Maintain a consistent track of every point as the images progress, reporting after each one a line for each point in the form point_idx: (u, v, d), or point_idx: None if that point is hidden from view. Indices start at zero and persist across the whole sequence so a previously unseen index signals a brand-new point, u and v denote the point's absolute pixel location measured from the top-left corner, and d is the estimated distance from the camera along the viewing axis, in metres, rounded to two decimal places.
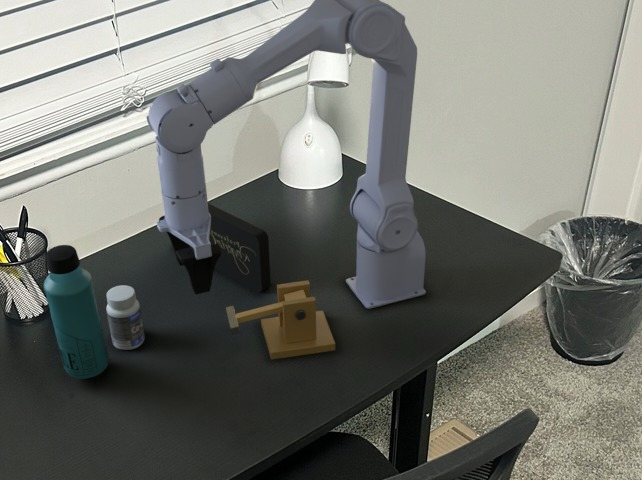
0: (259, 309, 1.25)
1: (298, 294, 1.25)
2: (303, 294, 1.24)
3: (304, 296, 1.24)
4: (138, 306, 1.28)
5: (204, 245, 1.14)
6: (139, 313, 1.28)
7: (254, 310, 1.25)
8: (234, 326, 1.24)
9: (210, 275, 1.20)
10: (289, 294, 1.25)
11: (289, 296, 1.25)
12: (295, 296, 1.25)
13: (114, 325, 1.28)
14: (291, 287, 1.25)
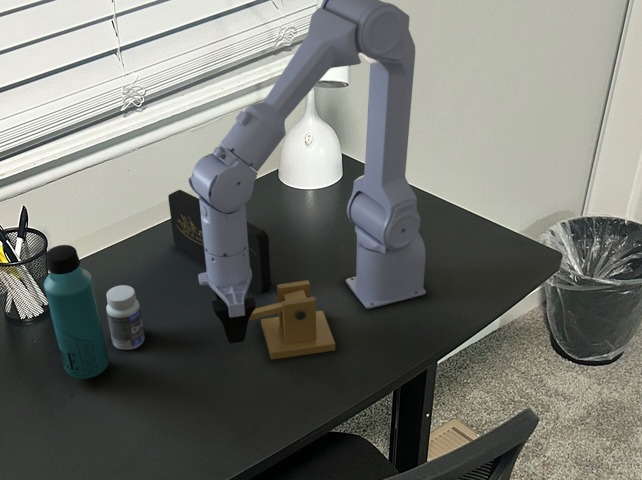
0: (259, 309, 1.25)
1: (298, 294, 1.25)
2: (303, 294, 1.24)
3: (304, 296, 1.24)
4: (138, 306, 1.28)
5: (237, 304, 1.16)
6: (139, 313, 1.28)
7: (254, 310, 1.25)
8: None
9: (244, 327, 1.22)
10: (289, 294, 1.25)
11: (289, 296, 1.25)
12: (295, 296, 1.25)
13: (114, 325, 1.28)
14: (291, 287, 1.25)
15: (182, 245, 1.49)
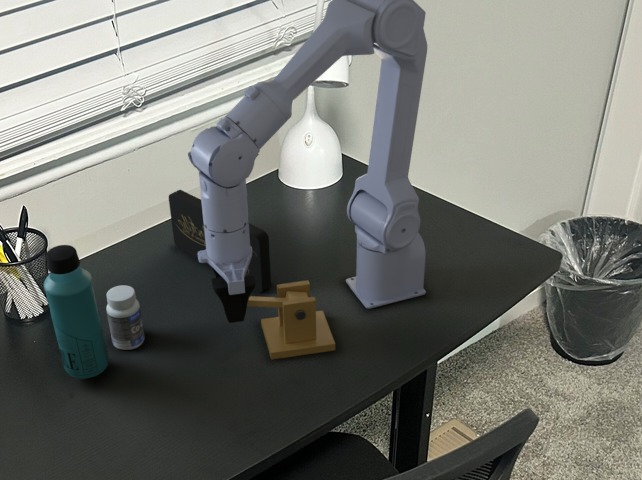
0: (260, 298, 1.24)
1: (301, 295, 1.25)
2: (306, 296, 1.25)
3: None
4: (138, 306, 1.28)
5: (237, 281, 1.13)
6: (139, 313, 1.28)
7: (255, 297, 1.24)
8: None
9: (244, 305, 1.20)
10: (292, 292, 1.25)
11: (292, 294, 1.25)
12: (298, 296, 1.25)
13: (114, 325, 1.28)
14: (291, 287, 1.25)
15: (183, 245, 1.49)
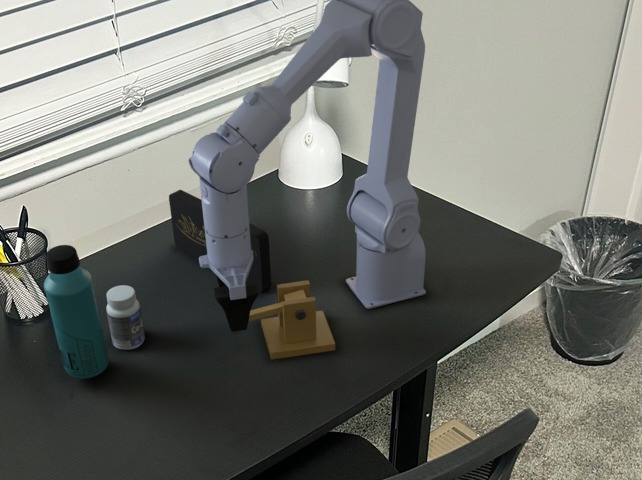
0: (259, 310, 1.25)
1: (298, 294, 1.25)
2: (303, 294, 1.24)
3: (304, 296, 1.24)
4: (138, 306, 1.28)
5: (239, 287, 1.14)
6: (139, 313, 1.28)
7: (254, 311, 1.25)
8: None
9: (247, 314, 1.20)
10: (289, 294, 1.25)
11: (289, 296, 1.25)
12: (295, 296, 1.25)
13: (114, 325, 1.28)
14: (291, 287, 1.25)
15: (183, 245, 1.49)
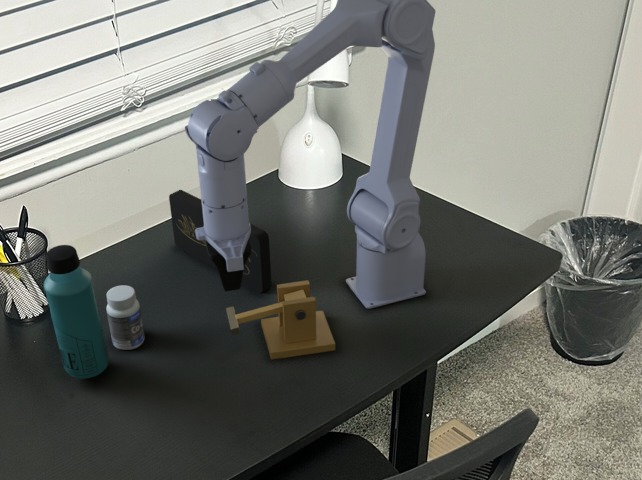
0: (259, 310, 1.25)
1: (298, 294, 1.25)
2: (303, 294, 1.24)
3: (304, 296, 1.24)
4: (138, 306, 1.28)
5: (236, 258, 1.11)
6: (139, 313, 1.28)
7: (254, 311, 1.25)
8: (234, 327, 1.24)
9: (240, 273, 1.20)
10: (289, 294, 1.25)
11: (289, 296, 1.25)
12: (295, 296, 1.25)
13: (114, 325, 1.28)
14: (291, 287, 1.25)
15: (183, 245, 1.49)
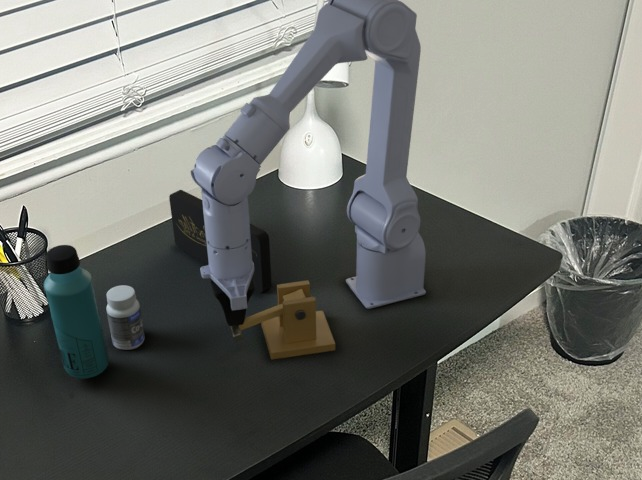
0: (260, 314, 1.26)
1: (297, 294, 1.25)
2: (301, 293, 1.24)
3: (302, 295, 1.24)
4: (138, 306, 1.28)
5: (240, 297, 1.15)
6: (139, 313, 1.28)
7: (255, 315, 1.26)
8: (236, 334, 1.25)
9: (244, 309, 1.24)
10: (288, 295, 1.25)
11: (288, 297, 1.25)
12: (294, 296, 1.25)
13: (114, 325, 1.28)
14: (291, 287, 1.25)
15: (183, 245, 1.49)
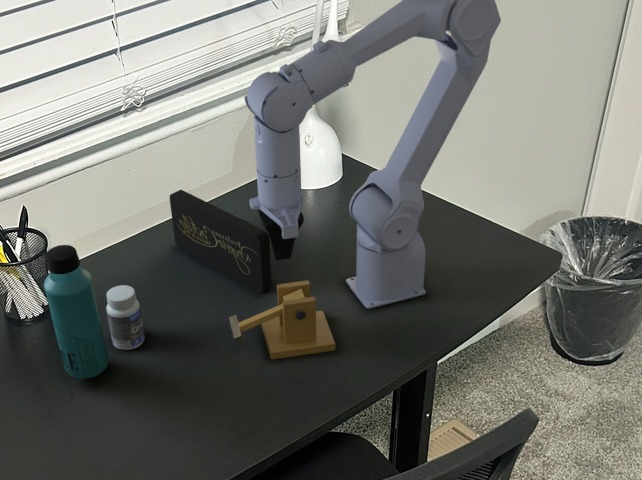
0: (261, 315, 1.26)
1: (296, 294, 1.25)
2: (301, 293, 1.24)
3: (302, 295, 1.24)
4: (138, 306, 1.28)
5: (291, 225, 1.15)
6: (139, 313, 1.28)
7: (256, 316, 1.26)
8: (237, 336, 1.25)
9: (292, 242, 1.24)
10: (288, 295, 1.25)
11: (288, 297, 1.25)
12: (293, 296, 1.25)
13: (114, 325, 1.28)
14: (291, 287, 1.25)
15: (184, 245, 1.49)
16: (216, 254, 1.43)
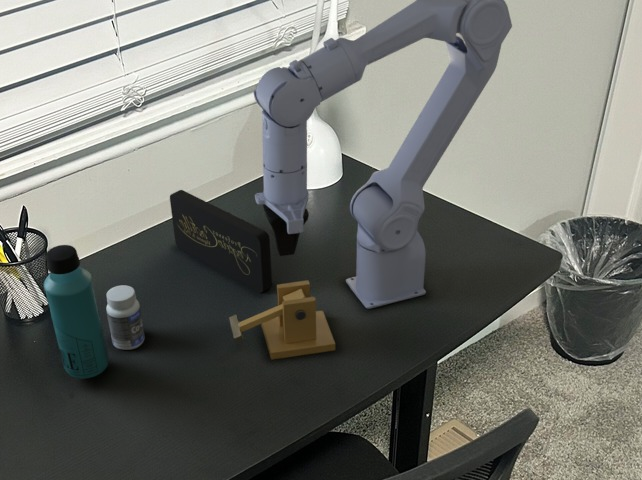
0: (261, 315, 1.26)
1: (296, 294, 1.25)
2: (301, 293, 1.24)
3: (302, 295, 1.24)
4: (138, 306, 1.28)
5: (297, 220, 1.16)
6: (139, 313, 1.28)
7: (256, 316, 1.26)
8: (237, 336, 1.25)
9: (296, 238, 1.25)
10: (288, 295, 1.25)
11: (288, 297, 1.25)
12: (293, 296, 1.25)
13: (114, 325, 1.28)
14: (291, 287, 1.25)
15: (184, 245, 1.49)
16: (216, 254, 1.43)
